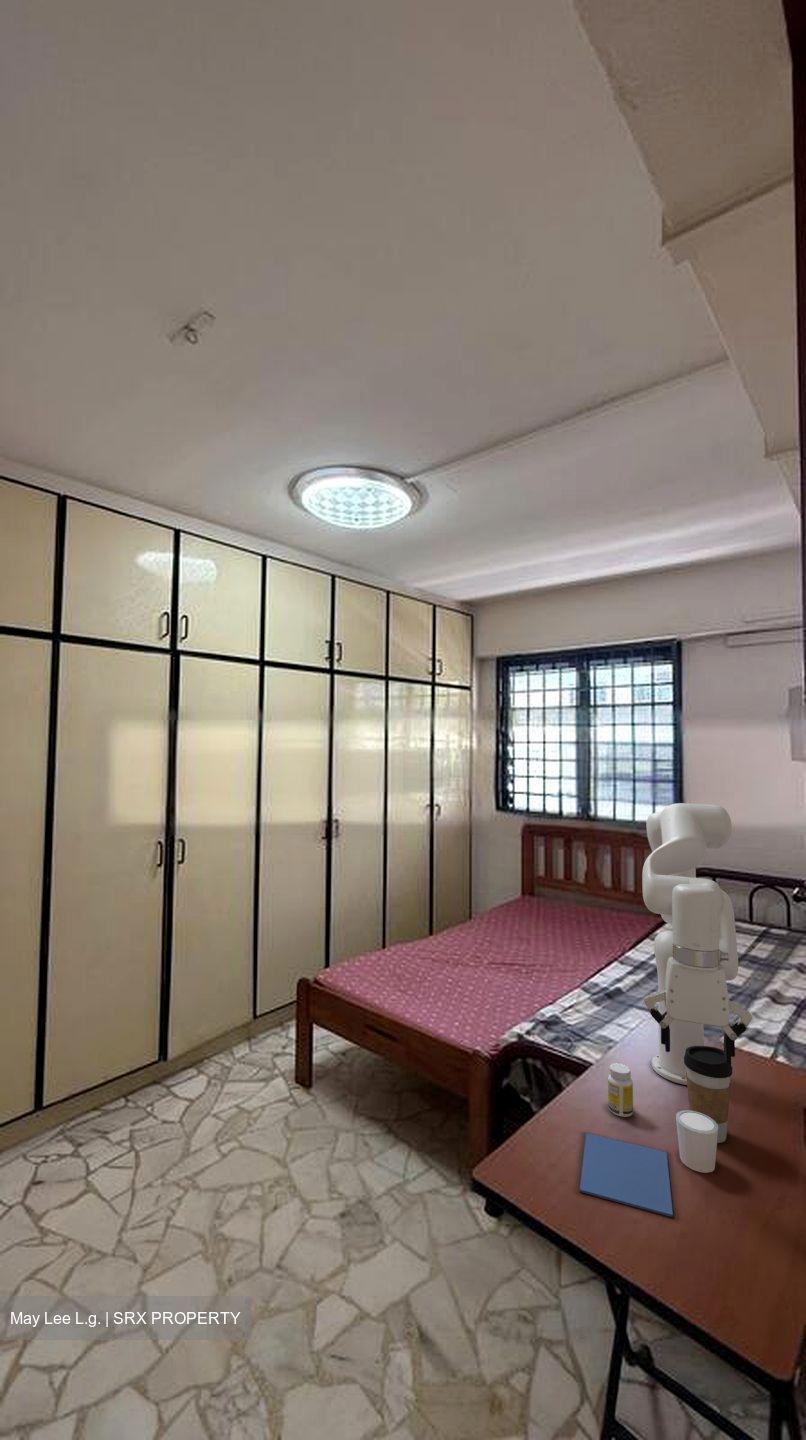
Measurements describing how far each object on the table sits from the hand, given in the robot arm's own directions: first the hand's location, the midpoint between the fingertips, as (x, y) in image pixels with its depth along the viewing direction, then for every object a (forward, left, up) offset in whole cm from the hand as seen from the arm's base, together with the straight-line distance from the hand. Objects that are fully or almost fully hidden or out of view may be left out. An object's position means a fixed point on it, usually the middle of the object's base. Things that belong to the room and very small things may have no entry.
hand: (697, 1054), depth 104 cm
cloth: (+6, -12, -19) cm, 24 cm away
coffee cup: (-12, +3, -20) cm, 23 cm away
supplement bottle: (-13, -13, -20) cm, 27 cm away
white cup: (-2, 0, -20) cm, 20 cm away
